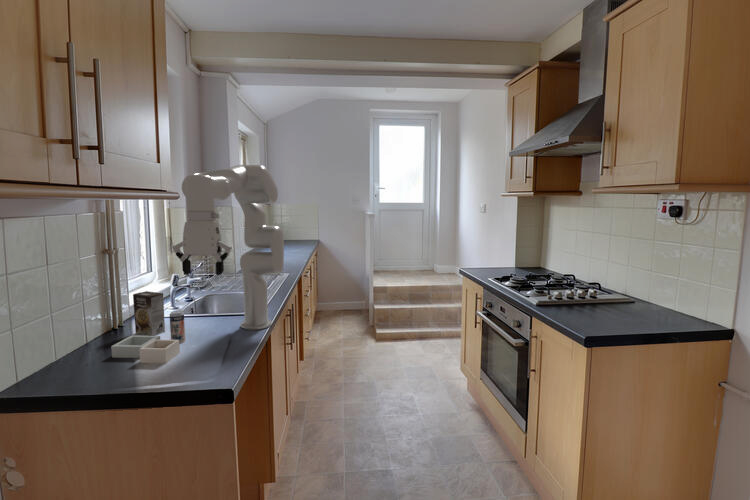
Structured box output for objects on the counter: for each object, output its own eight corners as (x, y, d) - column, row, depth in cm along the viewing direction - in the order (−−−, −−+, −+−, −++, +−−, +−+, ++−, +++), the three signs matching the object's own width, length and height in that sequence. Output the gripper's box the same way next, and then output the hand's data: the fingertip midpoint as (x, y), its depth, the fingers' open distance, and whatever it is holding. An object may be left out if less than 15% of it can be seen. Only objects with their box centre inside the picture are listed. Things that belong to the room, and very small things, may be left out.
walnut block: (156, 356, 130) (155, 346, 130) (167, 355, 131) (167, 345, 130) (153, 360, 127) (152, 350, 126) (165, 359, 127) (164, 349, 127)
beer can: (169, 346, 141) (167, 314, 139) (172, 341, 145) (170, 310, 144) (184, 345, 142) (182, 313, 141) (186, 340, 147) (185, 309, 145)
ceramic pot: (155, 354, 133) (154, 339, 132) (179, 355, 133) (179, 339, 132) (140, 365, 125) (139, 348, 124) (166, 365, 125) (165, 349, 124)
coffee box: (134, 334, 153) (131, 294, 151) (148, 329, 159) (146, 290, 157) (152, 336, 150) (149, 296, 148) (166, 331, 157) (163, 292, 154)
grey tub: (132, 347, 139) (131, 335, 139) (160, 348, 139) (160, 335, 138) (112, 359, 129) (111, 346, 128) (143, 360, 129) (142, 346, 128)
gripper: (234, 217, 118) (236, 272, 120) (178, 216, 119) (181, 271, 121) (225, 218, 111) (227, 277, 113) (164, 217, 111) (168, 276, 113)
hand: (203, 274), depth 117 cm, fingers open, 9 cm apart
